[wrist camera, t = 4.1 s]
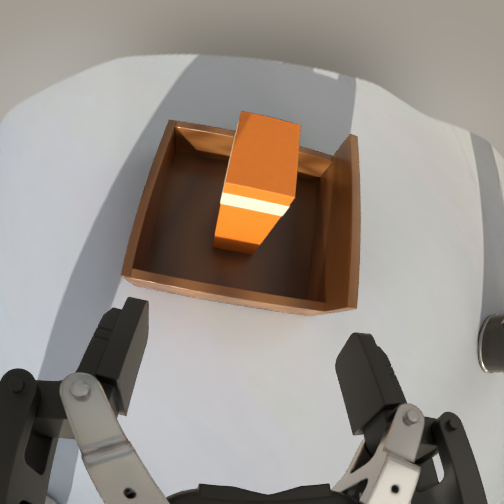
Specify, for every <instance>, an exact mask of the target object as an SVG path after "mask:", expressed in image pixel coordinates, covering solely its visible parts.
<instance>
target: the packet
mask: <svg viewBox="0 0 504 504" xmlns="http://www.w3.org/2000/svg"><path fill="white" fill-rule="evenodd" d="M300 130H301V125H298V124H295V123H291V122H287V121H283V120H279V119H275V118H271V117H267V116H263V115H258V114H254V113H249V112H245V111H241V114H240V119H239V122H238V124H237V128H236V132H235V137H234V141H233V145H232V150H231V154H230V159H229V163H228V168H227V172H226V177H225V181H224V186H223V191H222V196H221V201H220V204H221V205H220V210H219V215H218V220H217V225H216V230H215V235H214V241H213V246H212V247H214V248H220V249H225V250H230V251H235V252H241V253H246V254H251V255H253V254H254V252H255V251H256V250H257V248H258V247H259V246H260V244H261V243H262V242H263V240H264V239H265V238H266V236H267V235H268V234H269V232H270V231H271V229H272V228H273V227H274V225H275V224H276V223H277V221H278V220H279V219H280V217H281V216H283V215H284V214H285V212H286V211H287V210H288V208H289V207H290V204H291V202H292V201H293V200H294V198H295V193H296V182H297V170H298V157H299V144H300Z"/></svg>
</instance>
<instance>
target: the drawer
mask: <svg viewBox="0 0 504 504" xmlns="http://www.w3.org/2000/svg"><path fill="white" fill-rule="evenodd" d="M235 132H236V131H232V130H227V129H222V128H216V127H211V126H205V125H199V124H193V123H186V122H180V121H174V120H169V122H168V124H167V127H166V129H165V132H164V134H163V137H162V139H161V142H160V145H159V147H158V150H157V153H156V156H155V158H154V161H153V164H152V167H151V170H150V173H149V176H148V179H147V182H146V185H145V188H144V191H143V194H142V197H141V201H140V204H139V207H138V211H137V214H136V218H135V221H134V225H133V228H132V232H131V236H130V240H129V243H128V247H127V251H126V255H125V260H124V264H123V268H122V273H121V276H122V277H123V278H125V279H126V280H127V281H129V282H130V283H132V284H133V285H135V286H140V287H144V288H149V289H154V290H159V291H164V292H169V293H174V294H179V295H184V296H189V297H194V298H200V299H205V300H211V301H216V302H222V303H228V304H234V305H240V306H246V307H252V308H258V309H265V310H272V311H278V312H285V313H292V314H300V315H307V316H315V315H322V314H328V313H335V312H341V311H347V310H353V309H357V299H358V284H359V265H360V221H361V216H360V172H359V153H358V138H357V136H355V135H352V134H350V135H349V136H348V137H347V138H346V140H345V141H344V142H343V144H342V145H341V146H340V148H339V149H338V150H337V151H336V153H335V154H334V155H333V156H332V155H328V154H325V153H322V152H318V151H315V150H311V149H308V148H304V147H300V146H299V157H298V170H297V182H296V193H295V198H294V200H293V201H292V202H291V204H290V207H289V208H288V210H287V211H286V212H285V214H284V215H283V216H281V217H280V219H279V220H278V221H277V223H276V224H275V225H274V227H273V228H272V229H271V231H270V232H269V234H268V235H267V236H266V238H265V239H264V240H263V242H262V243H261V244H260V246H259V247H258V248H257V250H256V251H255V252H254V254H253V255H251V254H246V253H241V252H235V251H230V250H225V249H220V248H214V247H212V246H213V241H214V235H215V230H216V225H217V220H218V215H219V210H220V205H221V204H220V201H221V196H222V191H223V186H224V181H225V177H226V172H227V168H228V163H229V159H230V154H231V150H232V145H233V141H234V137H235Z"/></svg>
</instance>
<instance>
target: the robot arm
mask: <svg viewBox="0 0 504 504" xmlns="http://www.w3.org/2000/svg"><path fill="white" fill-rule="evenodd" d="M148 330H149V303H148V301H146V300H141V299H136V298H132V297H128V298H127V300H126V302H125V304H124V307H123V309H117V308H112V309H111V310H109V311H108V312H107V313H106V314H104V315H103V317H102V319H101V321H100V323H99V325H98V328H97V329H96V331H95V333H94V336H93V337H92V339H91V341H90V343H89V345H88V348H87V350H86V352H85V354H84V356H83V358H82V361H81V363H80V365H79V367H78V369H77V371H76V372H75V373H73V374H70V375H69V376H67V377H66V378H65V379H64V380H62V381H41V380H35V379H34V377H33V375H32V374H31V373H30V372H28V371H26V370H24V369H19V368H18V369H12V370H10V371H8V372H7V373H6V374H5V375H4V376H3V377H2V379H1V381H0V504H45V501H46V495H47V489H48V483H49V478H50V473H51V468H52V463H53V459H54V454H55V450H56V446H57V442H58V438H70V439H76V441H77V444H78V446H79V448H80V451H81V454H82V460H83V463H84V465H85V467H86V470H87V472H88V474H89V476H90V478H91V480H92V482H93V484H94V486H95V487H96V489H97V491H98V493H99V495H100V497H101V498H102V500H103V502H104V504H410V503H411V504H488V503H487V499H486V495H485V491H484V488H483V484H482V481H481V477H480V474H479V471H478V467H477V464H476V461H475V458H474V455H473V452H472V449H471V446H470V443H469V441H468V438H467V435H466V433H465V430H464V427H463V425H462V422H461V420H460V419H459V417H458V416H457V415H455V414H454V413H451V412H445V413H443V414H442V415H441V416H440V417H439V418H438V419H435V418H430V417H424V415H423V413H422V412H421V410H420V409H419V408H417V407H416V406H415V405H412V404H408V403H407V402H406V399H405V397H404V394H403V392H402V389H401V387H400V385H399V382H398V380H397V377H396V375H394V370H393V368H392V367H391V364H390V361H389V359H388V357H387V355H386V354H385V353H384V352H383V350H382V349H381V348H380V347H379V346H377V345H376V343H375V340H374V338H373V336H372V335H371V334H366V333H352V334H351V336H350V337H349V339H348V341H347V342H346V344H345V345H344V347H343V349H342V350H341V352H340V353H339V355H338V357H337V359H336V364H335V369H336V373H337V377H338V381H339V384H340V388H341V391H342V395H343V399H344V403H345V406H346V410H347V414H348V418H349V422H350V426H351V429H352V433H353V435H362V434H364V439H363V440H362V441H361V443H360V445H359V447H358V449H357V451H356V453H355V455H354V457H353V459H352V461H351V463H350V465H349V467H348V469H347V471H346V472H345V474H344V476H343V477H342V478H341V479H340V480H339V481H338V482H337V483H336V485H335V486H334V487H333V488H332V490H330V484H320V485H309V486H300V487H296V488H293V489H289V490H286V491H282V492H279V493H275V494H270V495H267V494H261V493H257V492H253V491H249V490H245V489H241V488H237V487H232V486H218V485H208V484H199V486H198V488H197V489H191V490H186V491H181V492H178V493H175V494H172V495H170V496H168V497H165V496H164V495H163V493H162V492H161V490H160V489H159V487H158V486H157V484H156V483H155V481H154V480H153V478H152V477H151V475H150V474H149V472H148V471H147V469H146V467H145V466H144V464H143V462H142V461H141V459H140V458H139V456H138V454H137V452H136V451H135V449H134V447H133V446H132V444H131V443H130V441H128V439H127V438H126V436H125V434H124V432H123V430H122V428H121V426H120V424H119V422H118V420H117V416H118V414H120V415H124V416H126V415H127V411H128V407H129V403H130V400H131V396H132V392H133V389H134V385H135V381H136V378H137V374H138V371H139V367H140V364H141V361H142V357H143V354H144V351H145V347H146V344H147V339H148ZM478 359H479V363H480V366H481V368H482V370H483V371H484V372H486V373H494V372H504V314H499V315H491V316H489V317H488V318H487V319H486V320H485V322H484V323H483V325H482V328H481V331H480V335H479V341H478ZM438 453H439V456H440V459H441V462H442V466H443V469H444V478H443V480H442V481H441V482H440V483H439V481H438V478H437V474H436V470H435V466H434V463H433V459H432V457H433V456H435V455H436V454H438Z"/></svg>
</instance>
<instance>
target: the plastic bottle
mask: <svg viewBox="0 0 504 504" xmlns="http://www.w3.org/2000/svg"><path fill="white" fill-rule="evenodd" d="M45 504H57V503H56V502H55V501H54V500H53V499H52V498H50V497H49V496H47V495H46V501H45Z"/></svg>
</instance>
